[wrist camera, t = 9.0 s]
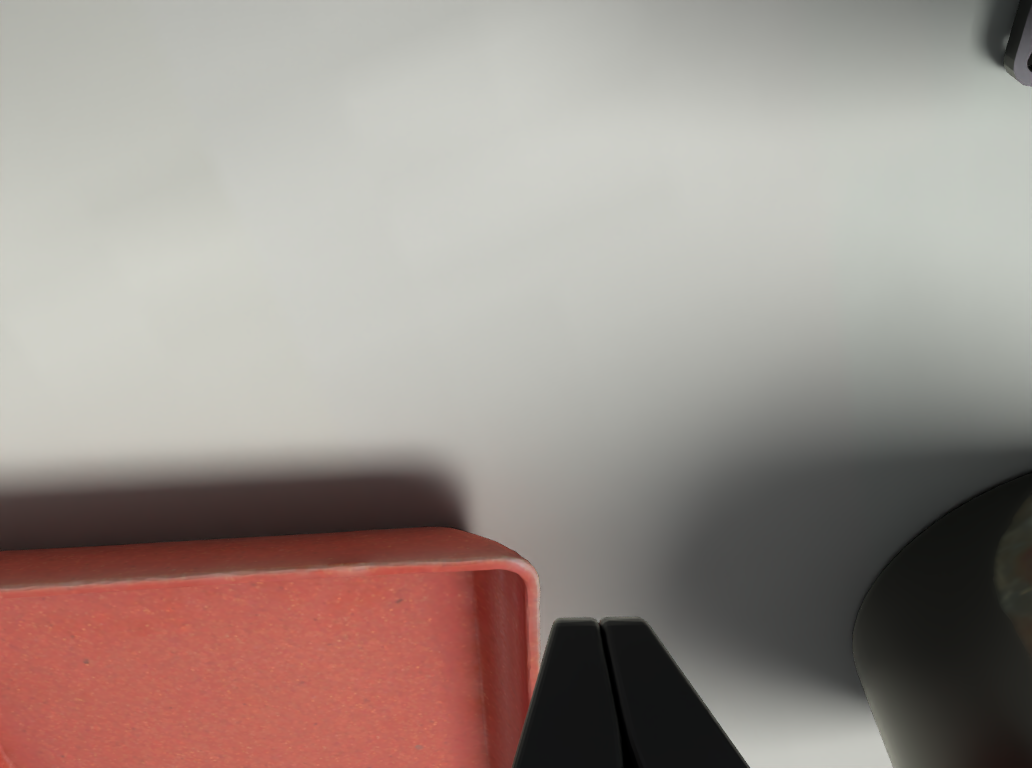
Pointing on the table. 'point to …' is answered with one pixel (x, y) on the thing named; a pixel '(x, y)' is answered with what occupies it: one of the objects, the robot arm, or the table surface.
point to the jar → (955, 639)
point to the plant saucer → (269, 652)
